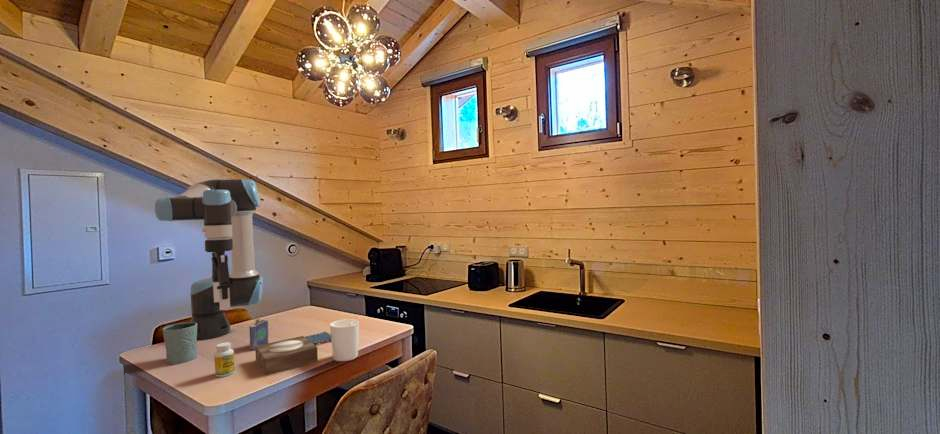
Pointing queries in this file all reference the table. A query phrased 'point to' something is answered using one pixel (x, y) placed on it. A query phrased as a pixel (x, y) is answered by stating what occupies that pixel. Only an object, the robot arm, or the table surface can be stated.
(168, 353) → the green cylinder
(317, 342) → the woven mat
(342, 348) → the candle holder
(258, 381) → the table surface
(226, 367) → the supplement bottle
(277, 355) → the walnut plinth
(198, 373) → the table surface
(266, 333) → the flask
